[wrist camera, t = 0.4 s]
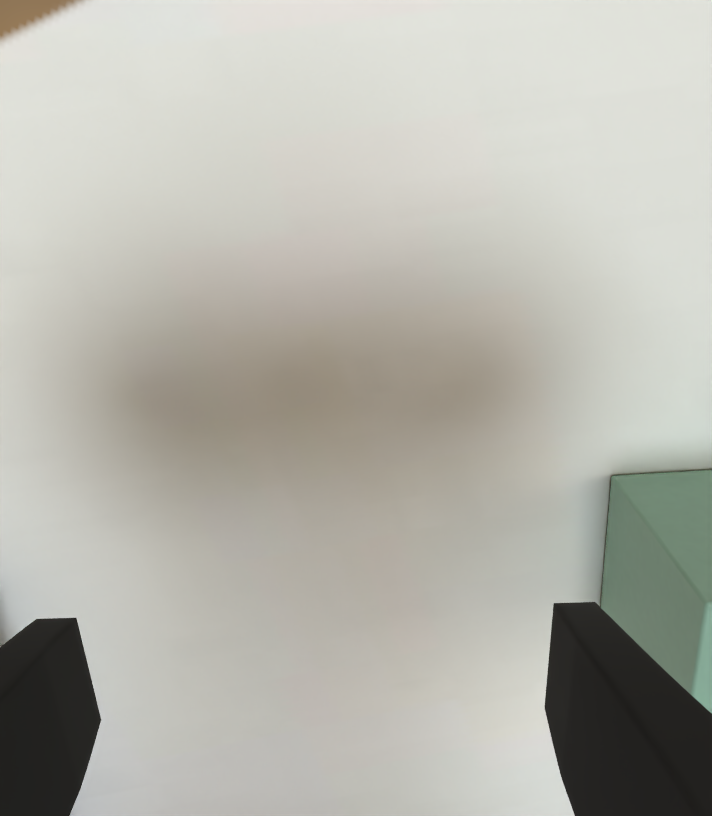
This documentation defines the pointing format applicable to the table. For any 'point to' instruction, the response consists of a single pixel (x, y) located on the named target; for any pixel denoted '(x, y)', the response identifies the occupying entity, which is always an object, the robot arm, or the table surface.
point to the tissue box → (663, 571)
